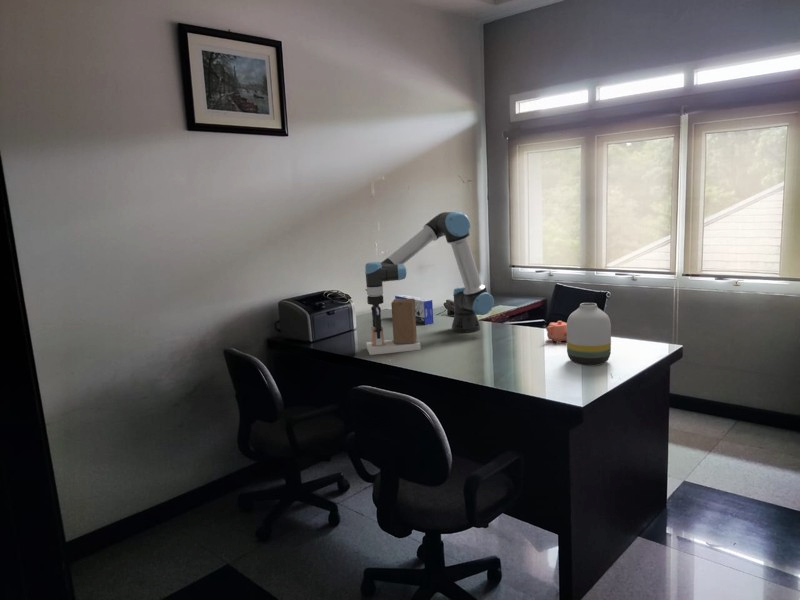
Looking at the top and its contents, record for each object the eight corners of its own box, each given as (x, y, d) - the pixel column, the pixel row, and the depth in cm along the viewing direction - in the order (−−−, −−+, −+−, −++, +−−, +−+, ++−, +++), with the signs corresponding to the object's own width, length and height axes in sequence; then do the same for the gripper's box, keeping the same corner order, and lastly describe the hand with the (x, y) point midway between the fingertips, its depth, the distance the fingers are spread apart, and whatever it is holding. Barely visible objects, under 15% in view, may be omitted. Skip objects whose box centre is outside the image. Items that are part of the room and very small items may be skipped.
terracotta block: (382, 342, 268) (381, 326, 266) (384, 344, 263) (382, 328, 262) (372, 343, 267) (371, 327, 266) (373, 345, 262) (372, 329, 261)
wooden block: (414, 343, 262) (412, 301, 258) (393, 344, 263) (391, 302, 260) (416, 338, 271) (414, 298, 268) (396, 339, 273) (394, 299, 269)
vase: (588, 354, 238) (588, 299, 234) (620, 363, 223) (620, 304, 219) (558, 361, 231) (557, 304, 227) (588, 370, 216) (588, 309, 212)
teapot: (571, 344, 255) (571, 324, 254) (545, 343, 261) (544, 323, 259) (575, 338, 266) (575, 319, 264) (550, 337, 271) (550, 318, 269)
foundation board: (415, 343, 275) (414, 337, 274) (420, 349, 262) (420, 343, 262) (366, 348, 271) (366, 342, 270) (369, 354, 258) (369, 348, 258)
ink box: (395, 318, 341) (394, 295, 339) (404, 316, 345) (403, 294, 342) (424, 325, 316) (423, 300, 314) (433, 323, 320) (432, 299, 317)
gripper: (364, 293, 269) (368, 340, 273) (369, 298, 252) (372, 348, 256) (380, 292, 271) (383, 338, 274) (385, 297, 253) (388, 347, 257)
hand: (378, 343), depth 265 cm, fingers closed on terracotta block, 5 cm apart
